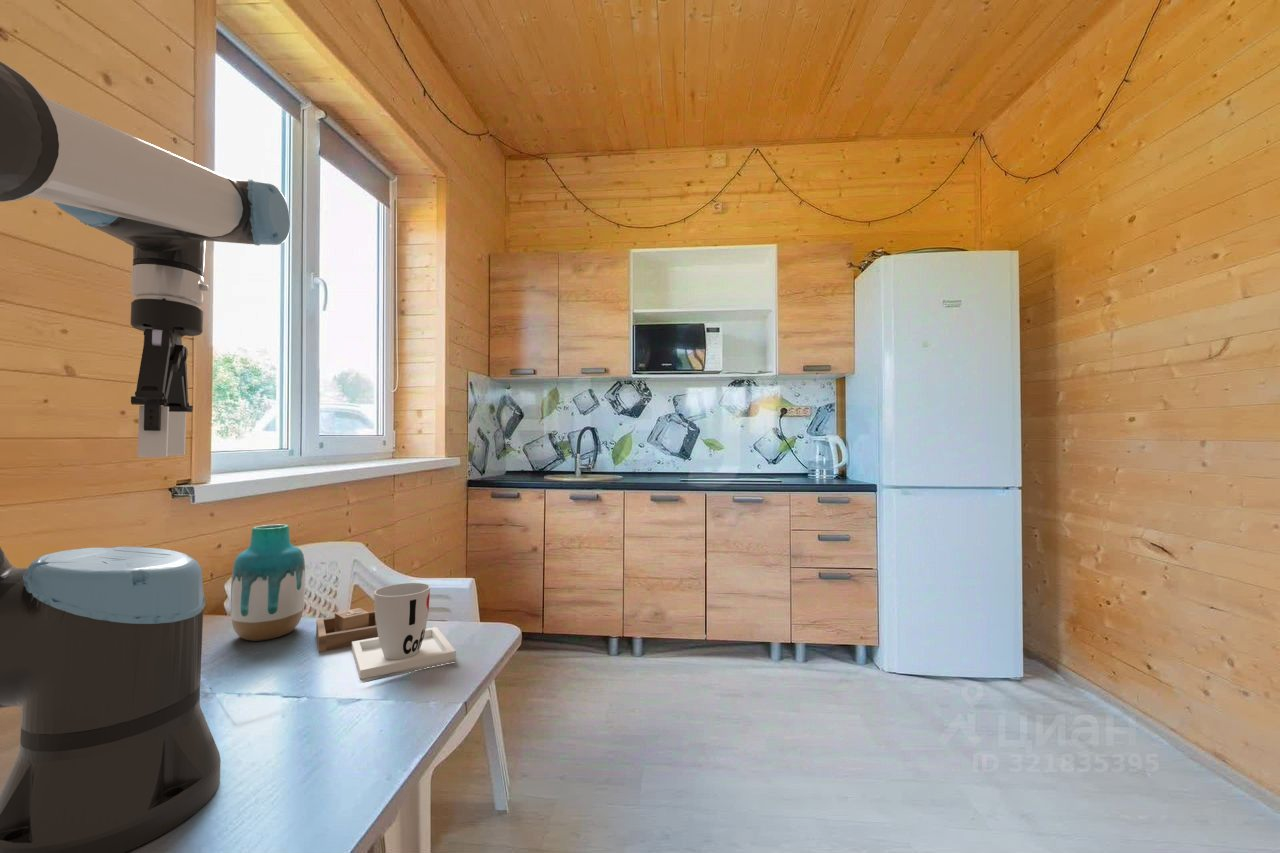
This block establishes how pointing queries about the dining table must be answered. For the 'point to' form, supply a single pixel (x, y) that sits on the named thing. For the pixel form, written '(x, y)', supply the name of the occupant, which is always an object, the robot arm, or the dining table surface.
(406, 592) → the cup
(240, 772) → the dining table surface
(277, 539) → the vase
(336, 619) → the letter cube
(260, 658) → the dining table surface
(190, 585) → the robot arm
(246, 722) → the dining table surface
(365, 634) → the brown wooden tray
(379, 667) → the tray
